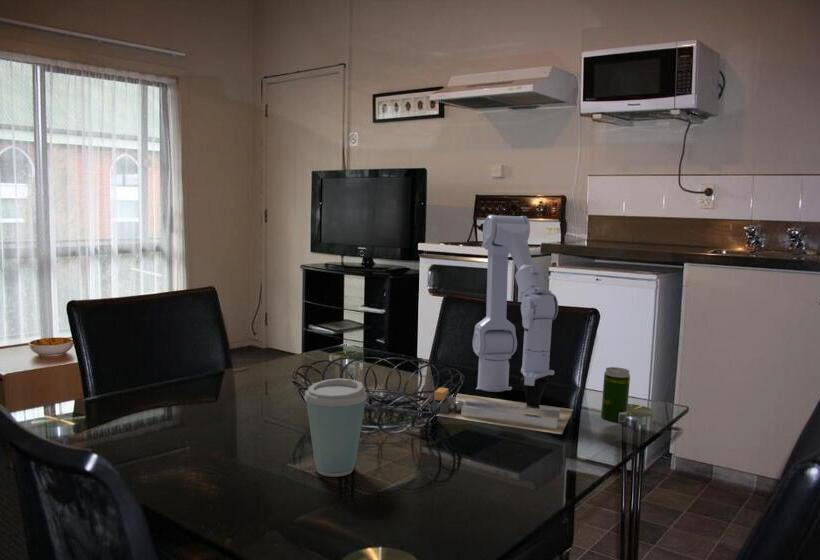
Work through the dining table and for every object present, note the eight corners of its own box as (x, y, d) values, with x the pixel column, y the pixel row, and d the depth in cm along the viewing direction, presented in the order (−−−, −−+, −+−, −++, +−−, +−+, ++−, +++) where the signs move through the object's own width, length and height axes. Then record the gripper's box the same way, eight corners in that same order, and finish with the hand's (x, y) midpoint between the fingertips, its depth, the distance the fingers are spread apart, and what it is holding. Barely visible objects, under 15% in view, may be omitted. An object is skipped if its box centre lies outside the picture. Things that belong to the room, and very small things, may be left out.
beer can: (631, 424, 155) (635, 371, 154) (616, 429, 152) (620, 374, 150) (610, 418, 159) (614, 365, 158) (595, 422, 156) (599, 368, 155)
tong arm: (455, 407, 157) (455, 398, 157) (559, 417, 153) (559, 408, 153) (453, 412, 154) (454, 402, 154) (559, 422, 150) (560, 412, 150)
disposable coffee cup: (339, 487, 115) (342, 397, 113) (288, 471, 120) (290, 385, 119) (376, 468, 124) (380, 383, 122) (327, 454, 129) (330, 373, 128)
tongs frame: (440, 405, 159) (440, 395, 159) (560, 423, 150) (561, 411, 150) (432, 412, 154) (432, 401, 154) (556, 430, 145) (557, 419, 145)
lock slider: (439, 395, 158) (439, 387, 158) (448, 396, 157) (448, 388, 157) (434, 399, 154) (434, 391, 154) (442, 400, 154) (443, 392, 153)
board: (453, 398, 170) (454, 393, 170) (572, 414, 161) (573, 409, 161) (429, 419, 152) (429, 414, 152) (561, 439, 143) (561, 434, 143)
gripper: (550, 357, 145) (546, 422, 147) (559, 345, 159) (555, 404, 160) (516, 353, 148) (512, 417, 149) (528, 341, 161) (524, 400, 163)
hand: (532, 410), depth 155 cm, fingers closed
